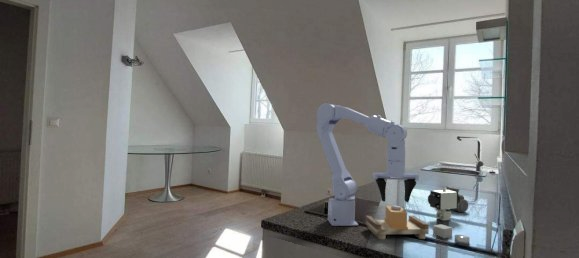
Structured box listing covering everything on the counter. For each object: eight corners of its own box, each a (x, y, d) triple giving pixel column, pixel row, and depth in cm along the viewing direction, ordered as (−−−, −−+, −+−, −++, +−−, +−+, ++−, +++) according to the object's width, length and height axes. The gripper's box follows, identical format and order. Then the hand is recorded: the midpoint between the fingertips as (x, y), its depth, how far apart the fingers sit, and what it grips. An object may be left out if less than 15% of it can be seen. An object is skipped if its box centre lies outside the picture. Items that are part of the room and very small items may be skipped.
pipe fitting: (433, 205, 141) (437, 183, 140) (446, 206, 143) (450, 184, 143) (455, 216, 129) (460, 192, 129) (469, 216, 132) (474, 192, 131)
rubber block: (444, 238, 99) (444, 229, 99) (433, 234, 103) (433, 225, 103) (452, 236, 101) (452, 227, 101) (441, 233, 105) (441, 224, 105)
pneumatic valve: (460, 220, 120) (461, 189, 120) (436, 222, 116) (436, 190, 116) (449, 216, 125) (449, 186, 125) (425, 218, 122) (425, 187, 122)
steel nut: (466, 246, 92) (466, 239, 92) (452, 242, 95) (452, 236, 96) (471, 243, 95) (471, 237, 95) (457, 240, 98) (457, 233, 98)
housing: (391, 228, 98) (391, 210, 98) (384, 219, 108) (384, 202, 108) (407, 229, 98) (408, 211, 98) (399, 220, 108) (399, 203, 108)
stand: (376, 239, 97) (376, 224, 97) (365, 228, 107) (365, 215, 107) (428, 238, 98) (428, 224, 98) (413, 228, 108) (413, 215, 108)
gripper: (413, 159, 108) (412, 199, 108) (371, 158, 108) (370, 197, 108) (421, 162, 101) (420, 204, 101) (376, 160, 101) (375, 202, 101)
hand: (394, 201), depth 104 cm, fingers open, 7 cm apart
